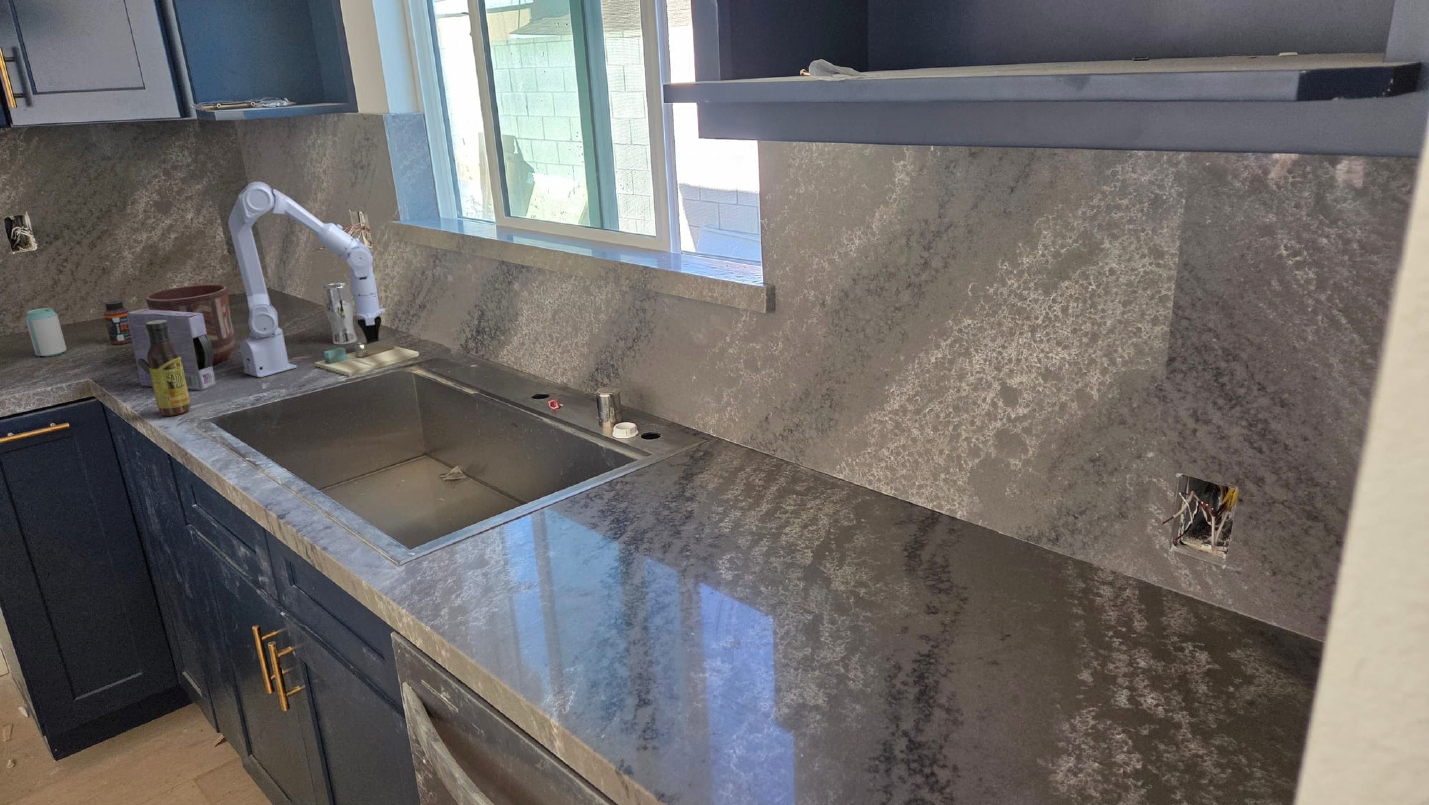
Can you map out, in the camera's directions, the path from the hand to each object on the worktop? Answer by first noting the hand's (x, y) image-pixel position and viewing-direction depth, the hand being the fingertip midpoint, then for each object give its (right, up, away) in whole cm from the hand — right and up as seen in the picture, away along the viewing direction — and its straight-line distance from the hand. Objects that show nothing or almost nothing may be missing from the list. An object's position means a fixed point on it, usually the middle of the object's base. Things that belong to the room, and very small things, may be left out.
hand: (373, 347), depth 249 cm
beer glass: (-12, +2, +15) cm, 19 cm away
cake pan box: (-39, -10, -16) cm, 44 cm away
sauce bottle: (-30, -16, -35) cm, 49 cm away
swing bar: (+1, -1, -2) cm, 3 cm away
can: (-91, -1, +17) cm, 93 cm away
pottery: (-44, -4, +3) cm, 44 cm away
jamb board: (0, -4, -5) cm, 6 cm away
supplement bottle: (-77, +3, +26) cm, 82 cm away
